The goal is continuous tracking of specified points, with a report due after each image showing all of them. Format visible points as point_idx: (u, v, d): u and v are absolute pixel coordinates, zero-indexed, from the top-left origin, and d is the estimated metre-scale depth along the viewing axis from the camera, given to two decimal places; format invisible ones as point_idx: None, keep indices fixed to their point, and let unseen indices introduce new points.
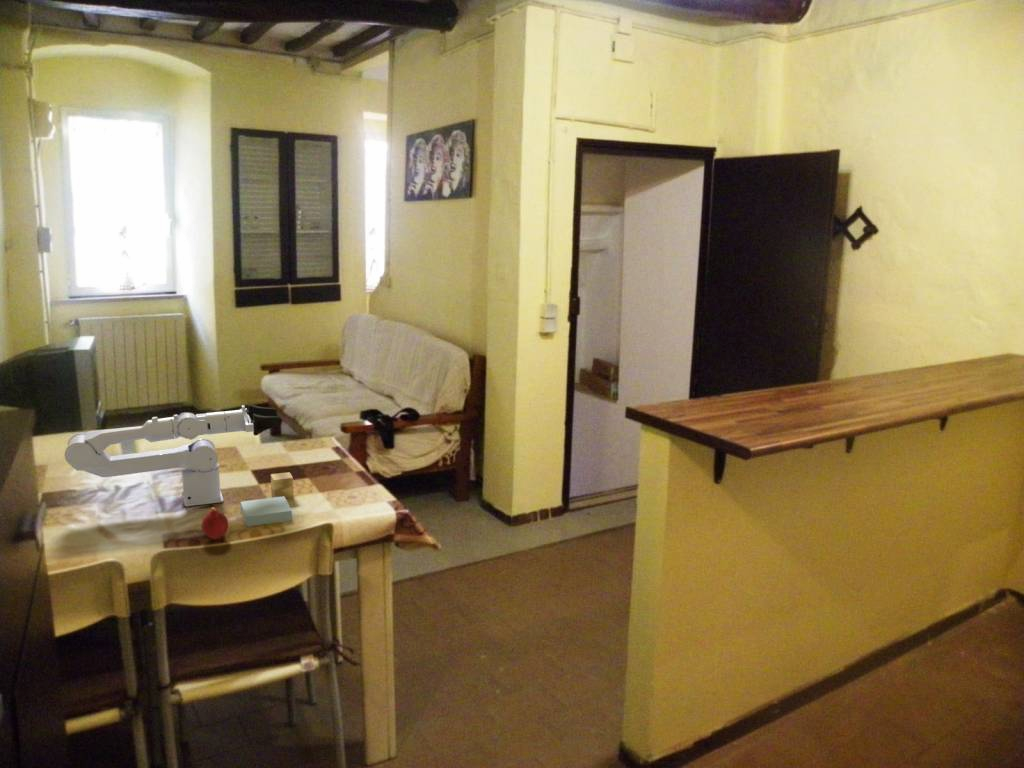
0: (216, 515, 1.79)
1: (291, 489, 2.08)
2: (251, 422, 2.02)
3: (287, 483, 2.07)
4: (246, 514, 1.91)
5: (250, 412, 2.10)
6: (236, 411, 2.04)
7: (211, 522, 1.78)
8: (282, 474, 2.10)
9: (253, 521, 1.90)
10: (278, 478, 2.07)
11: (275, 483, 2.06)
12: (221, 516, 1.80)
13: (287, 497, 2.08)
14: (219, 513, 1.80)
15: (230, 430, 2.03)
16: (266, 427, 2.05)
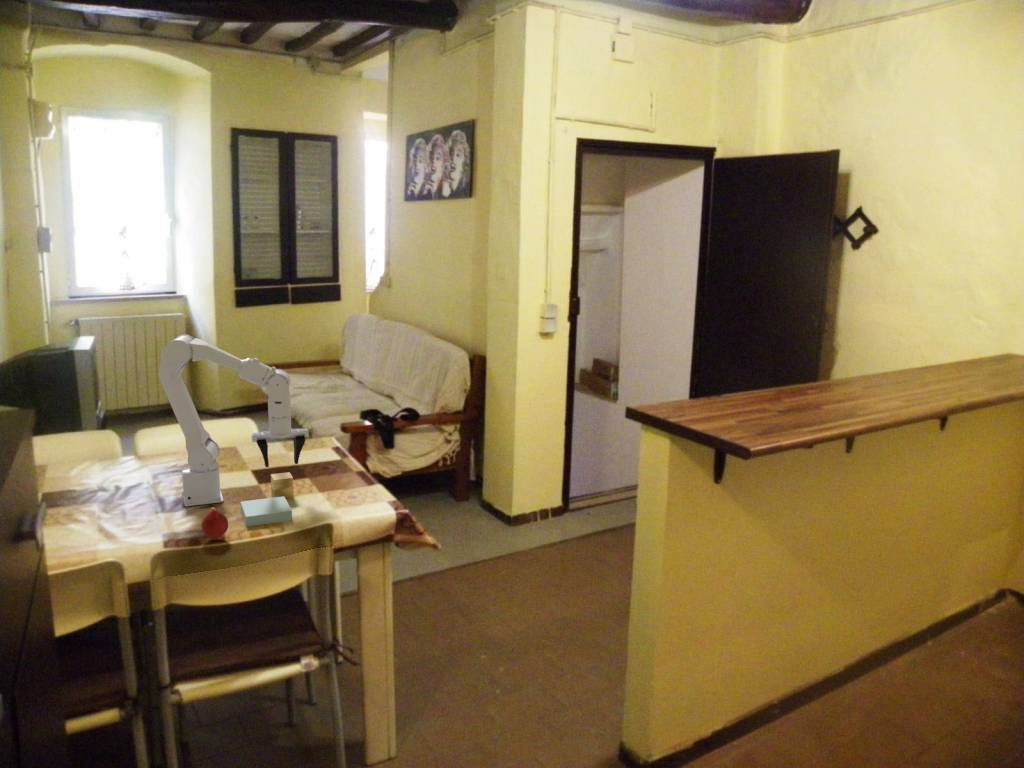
0: (216, 515, 1.79)
1: (291, 489, 2.08)
2: (260, 440, 2.04)
3: (287, 483, 2.07)
4: (246, 514, 1.91)
5: (295, 439, 2.08)
6: (280, 429, 2.03)
7: (211, 522, 1.78)
8: (282, 474, 2.10)
9: (253, 521, 1.90)
10: (278, 478, 2.07)
11: (275, 483, 2.06)
12: (221, 516, 1.80)
13: (287, 497, 2.08)
14: (219, 513, 1.80)
15: None
16: (262, 451, 2.06)
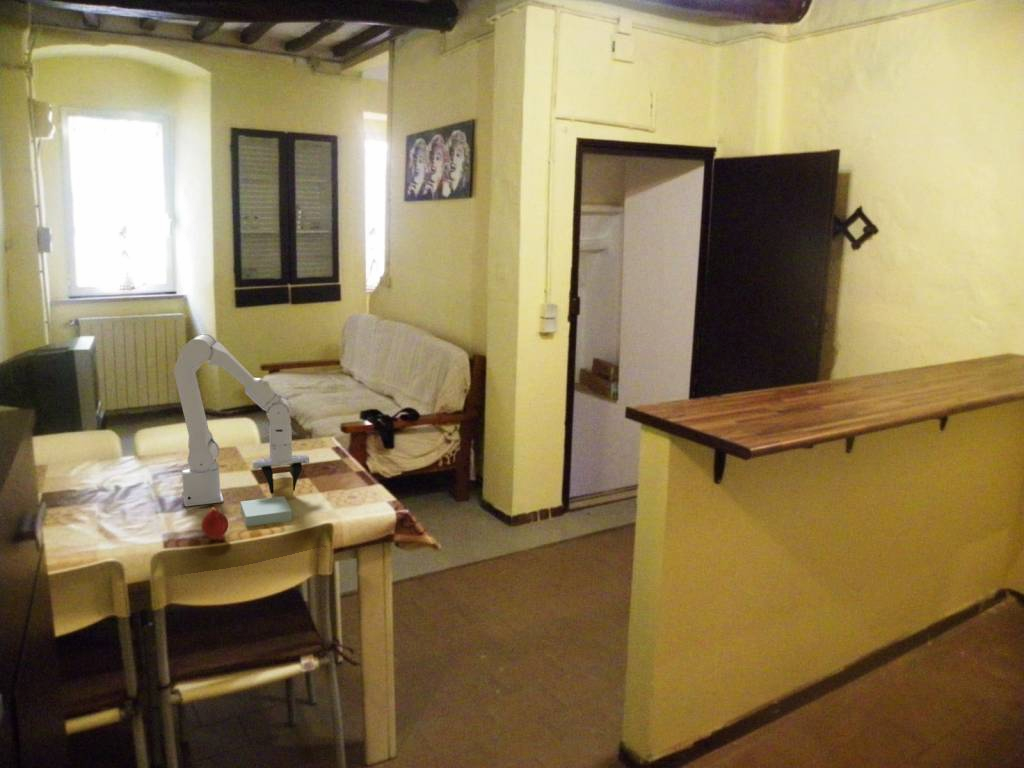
0: (216, 515, 1.79)
1: (291, 489, 2.08)
2: (265, 467, 2.06)
3: (287, 483, 2.07)
4: (246, 514, 1.91)
5: (292, 467, 2.09)
6: (280, 456, 2.05)
7: (211, 522, 1.78)
8: (282, 474, 2.10)
9: (253, 521, 1.90)
10: (278, 478, 2.07)
11: (275, 483, 2.06)
12: (221, 516, 1.80)
13: (287, 497, 2.08)
14: (219, 513, 1.80)
15: None
16: None
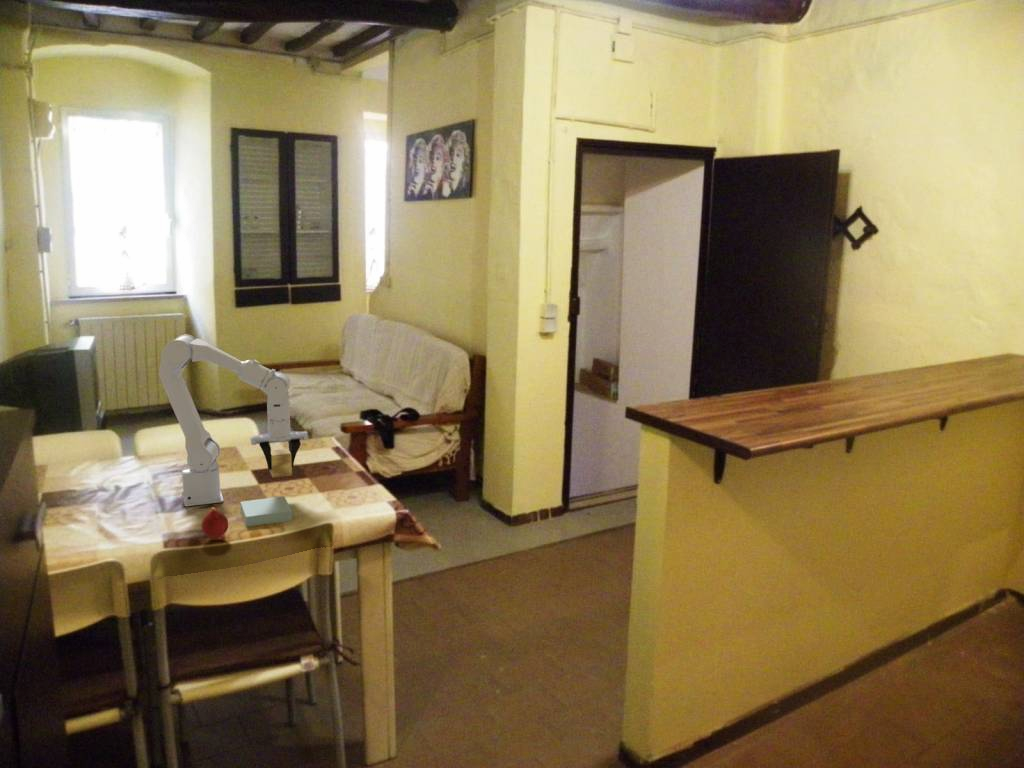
0: (216, 515, 1.79)
1: (289, 465, 2.06)
2: (263, 442, 2.03)
3: (285, 459, 2.05)
4: (246, 514, 1.91)
5: (290, 443, 2.07)
6: (279, 432, 2.03)
7: (211, 522, 1.78)
8: (280, 450, 2.08)
9: (253, 521, 1.90)
10: (276, 454, 2.05)
11: (273, 459, 2.04)
12: (221, 516, 1.80)
13: (285, 473, 2.06)
14: (219, 513, 1.80)
15: None
16: (265, 454, 2.06)
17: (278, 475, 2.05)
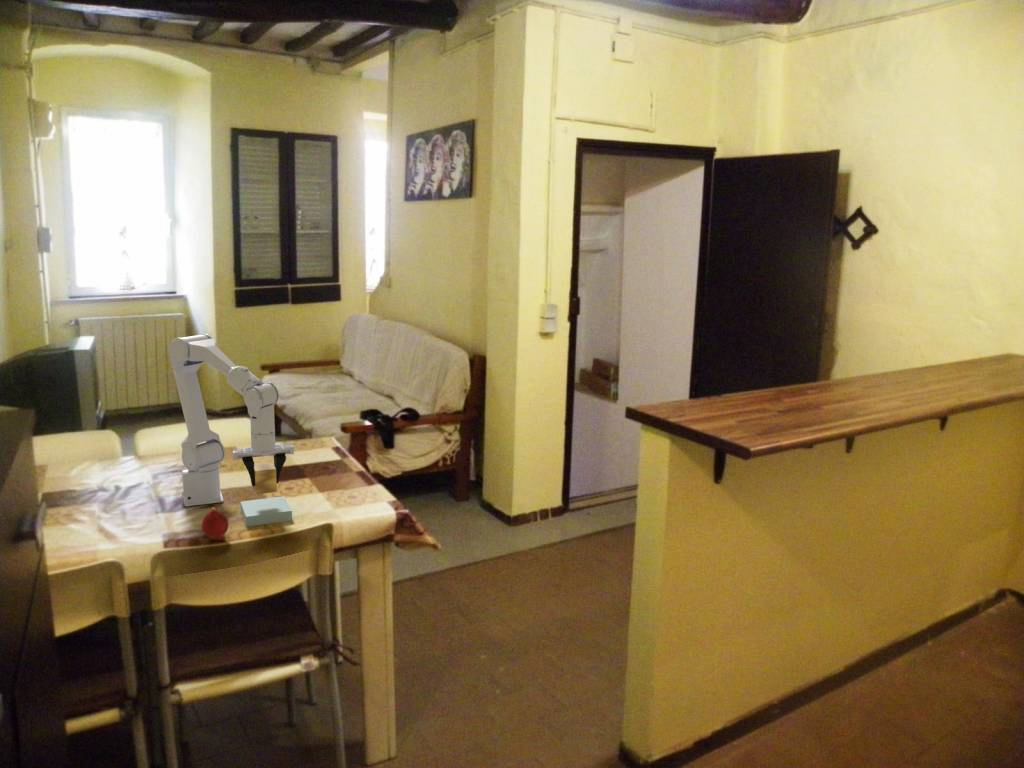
0: (216, 515, 1.79)
1: (274, 481, 1.94)
2: (246, 457, 1.91)
3: (270, 475, 1.93)
4: (246, 514, 1.91)
5: (275, 457, 1.94)
6: (263, 446, 1.90)
7: (211, 522, 1.78)
8: (264, 465, 1.96)
9: (254, 521, 1.90)
10: (260, 469, 1.92)
11: (257, 474, 1.92)
12: (221, 516, 1.80)
13: (270, 490, 1.94)
14: (219, 513, 1.80)
15: None
16: None
17: (262, 492, 1.93)
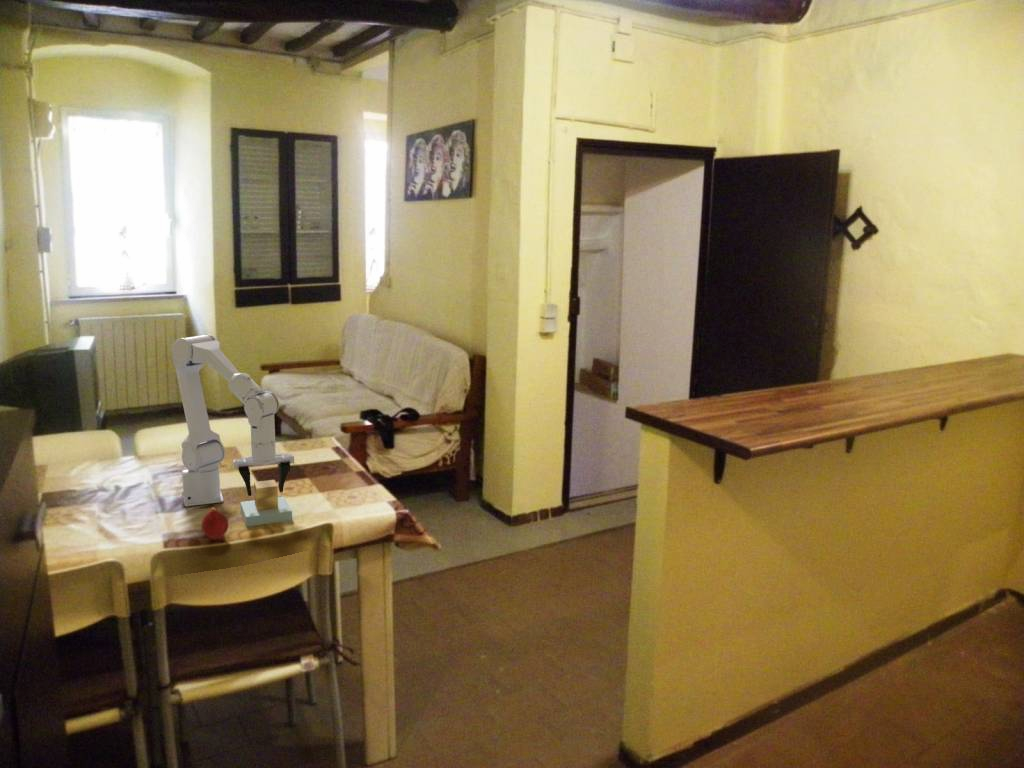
0: (216, 515, 1.79)
1: (275, 498, 1.95)
2: (242, 467, 1.91)
3: (271, 492, 1.94)
4: (246, 514, 1.91)
5: (279, 466, 1.95)
6: (263, 455, 1.91)
7: (211, 522, 1.78)
8: (266, 482, 1.96)
9: (254, 521, 1.90)
10: (262, 486, 1.93)
11: (258, 492, 1.92)
12: (221, 516, 1.80)
13: (271, 506, 1.95)
14: (219, 513, 1.80)
15: None
16: None
17: (263, 509, 1.94)
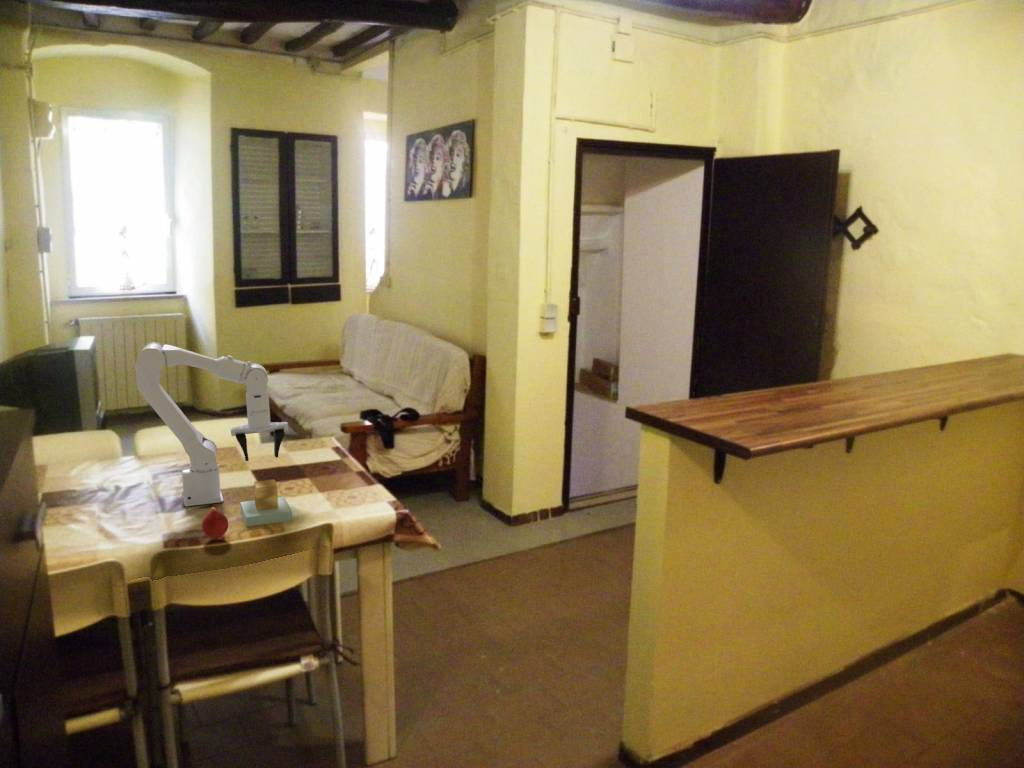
0: (216, 515, 1.79)
1: (275, 498, 1.95)
2: (239, 434, 2.05)
3: (271, 491, 1.94)
4: (246, 514, 1.91)
5: (274, 433, 2.08)
6: (258, 423, 2.04)
7: (211, 522, 1.78)
8: (266, 482, 1.97)
9: (254, 521, 1.90)
10: (262, 486, 1.94)
11: (258, 491, 1.93)
12: (221, 516, 1.80)
13: (271, 506, 1.95)
14: (219, 513, 1.80)
15: None
16: None
17: (263, 508, 1.94)
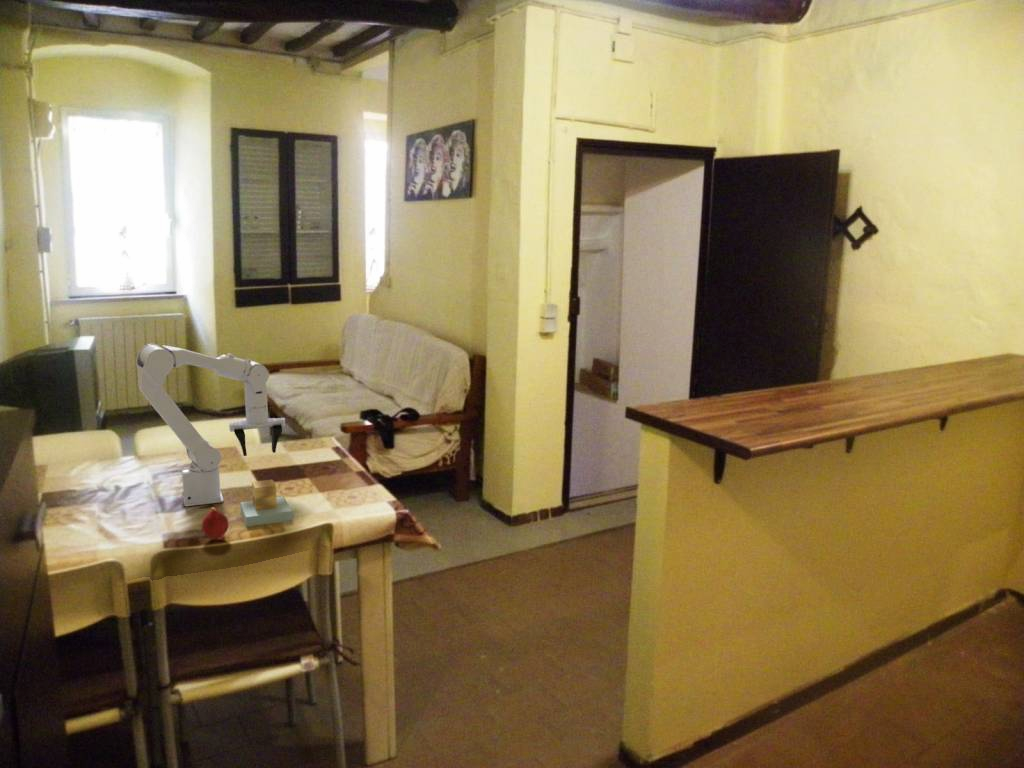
0: (216, 515, 1.79)
1: (274, 498, 1.95)
2: (238, 429, 2.08)
3: (269, 491, 1.94)
4: (246, 514, 1.91)
5: (272, 429, 2.12)
6: (256, 418, 2.08)
7: (211, 522, 1.78)
8: (264, 482, 1.97)
9: (253, 521, 1.90)
10: (260, 486, 1.93)
11: (257, 491, 1.93)
12: (221, 516, 1.80)
13: (270, 506, 1.95)
14: (219, 513, 1.80)
15: None
16: None
17: (262, 508, 1.94)
